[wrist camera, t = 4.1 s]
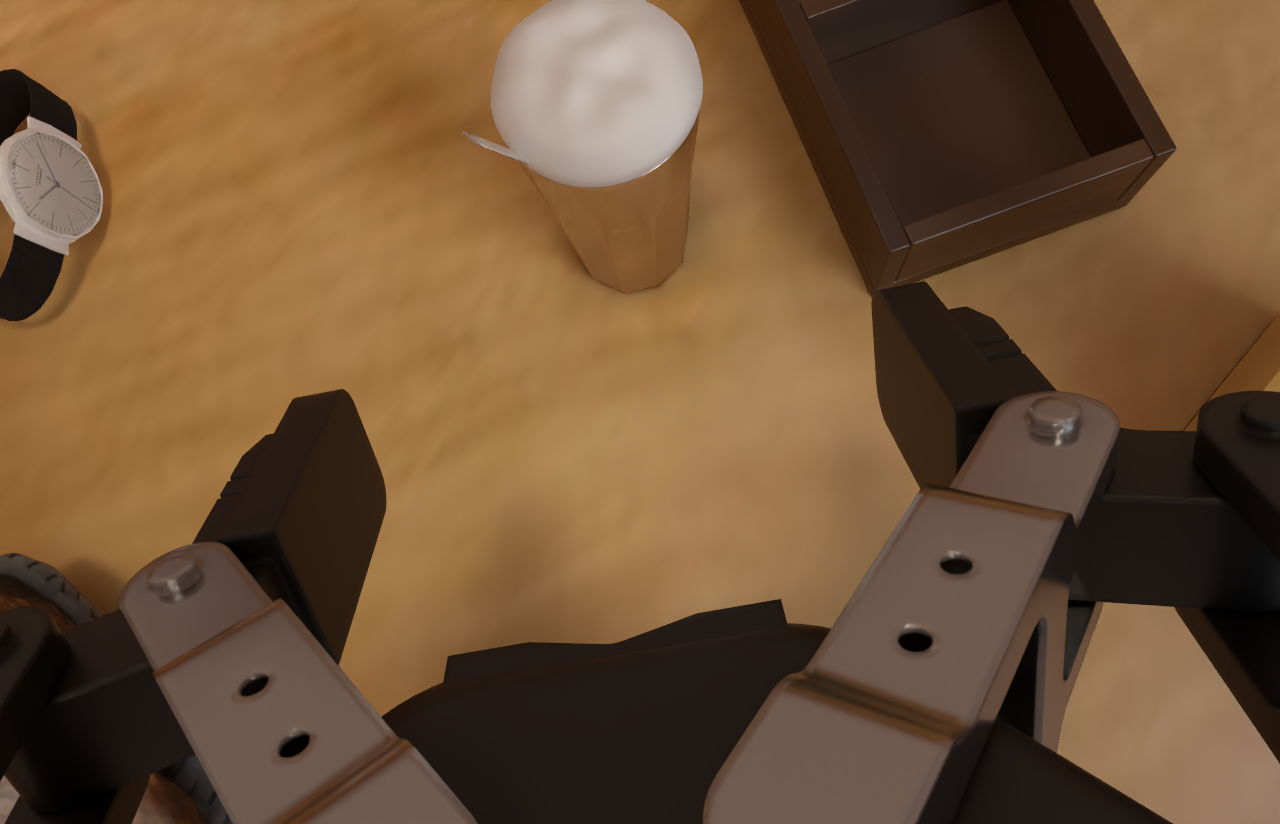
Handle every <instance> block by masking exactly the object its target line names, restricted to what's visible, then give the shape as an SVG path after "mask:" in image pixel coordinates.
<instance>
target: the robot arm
mask: <svg viewBox="0 0 1280 824" xmlns="http://www.w3.org/2000/svg"><path fill="white" fill-rule="evenodd" d="M872 321H873V337H874V354H875V370H876V384H877V393H878V398H879V403H880V407H881V411H882V414H883V418H884V420H885V423H886V425H887V427H888V429H889V430H890V432H891V434H892V436H893V438H894V440H895V442H896V444H897V446H898V448H899V449H900V451H901V453H902V455H903V457H904V459H905V461H906V463H907V465H908V466H909V468H910V470H911V472H912V474H913V476H914V478H915V480H916V482H917V484H918V485H919V487H920V489H921V490H920V491H919V492H918V494H917V495H916V497H915V498H914V500H913V502H912V503H911V505H910V506H909V508H908V509H907V511H906V512H905V514H904V516H903V517H902V519H901V520H900V522H899V523H898V525H897V527H896V528H895V530H894V531H893V533H892V534H891V536H890V538H889V539H888V541H887V542H886V544H885V545H884V547H883V549H882V550H881V552H880V553H879V555H878V556H877V558H876V559H875V561H874V563H873V564H872V566H871V567H870V569H869V570H868V572H867V574H866V575H865V577H864V578H863V580H862V581H861V583H860V585H859V586H858V588H857V589H856V591H855V592H854V594H853V595H852V597H851V599H850V600H849V602H848V603H847V605H846V606H845V608H844V610H843V611H842V613H841V614H840V616H839V617H838V619H837V621H836V622H835V624H834V625H833V627H832V628H831V629H830V628H826V627H821V626H814V625H806V624H791V623H787V621H786V617H785V613H784V610H783V606H782V602H781V599H778V600H772V601H767V602H761V603H755V604H749V605H743V606H737V607H732V608H726V609H720V610H714V611H708V612H702V613H697V614H695V615H692V616H689V617H686V618H684V619H681V620H678V621H676V622H673V623H670V624H667V625H665V626H662V627H659V628H657V629H654V630H651V631H649V632H646V633H643V634H640V635H638V636H635V637H632V638H630V639H627V640H624V641H621V642H618V643H613V644H575V643H536V642H527V643H522V644H516V645H510V646H504V647H498V648H492V649H487V650H481V651H475V652H469V653H463V654H457V655H452V656H448V659H447V664H446V670H445V676H444V682H443V683H441V684H438V685H436V686H433V687H431V688H429V689H427V690H425V691H423V692H421V693H419V694H416V695H415V696H413V697H411V698H409V699H408V700H406V701H404V702H403V703H401V704H399V705H398V706H396V707H395V708H393V709H392V710H390V711H389V712H388V713H386V714H385V715H383V716H382V717H380V715H379V714H378V713H377V712H376V711H375V709H374V708H373V707H372V706H371V705H370V703H369V702H368V701H367V700H366V699H365V697H364V696H363V695H362V694H361V693H360V691H359V690H358V689H357V688H356V687H355V685H354V684H353V683H352V682H351V681H350V679H349V678H348V677H347V676H346V675H345V673H344V672H343V671H342V670H341V669H340V667H339V666H338V665H339V662H340V659H341V656H342V653H343V649H344V646H345V643H346V640H347V636H348V633H349V630H350V626H351V623H352V620H353V617H354V613H355V610H356V607H357V604H358V600H359V597H360V594H361V590H362V587H363V584H364V581H365V577H366V574H367V571H368V567H369V564H370V561H371V558H372V554H373V551H374V548H375V545H376V541H377V538H378V535H379V531H380V528H381V525H382V522H383V518H384V515H385V511H386V489H385V483H384V479H383V475H382V472H381V470H380V467H379V465H378V462H377V459H376V457H375V454H374V452H373V449H372V447H371V444H370V442H369V439H368V437H367V434H366V431H365V429H364V426H363V424H362V421H361V419H360V416H359V414H358V411H357V409H356V406H355V404H354V401H353V399H352V398H351V396H350V395H349V393H348V392H347V391H345V390H343V389H340V390H335V391H329V392H324V393H319V394H313V395H308V396H303V397H297V398H294V399H293V400H292V401H291V403H290V405H289V407H288V409H287V410H286V412H285V414H284V416H283V418H282V420H281V422H280V423H279V425H278V427H277V429H276V431H275V433H274V434H269V435H266V436H264V437H263V438H262V439H261V440H260V441H259V442H258V443H257V444H255V445H254V446H253V447H252V448H251V449H250V450H249V451H248V452H246V453H245V454H244V455H243V456H242V458H241V459H240V461H239V463H238V465H237V466H236V468H235V470H234V472H233V473H232V475H231V477H230V478H231V481H228V482H227V484H226V486H225V487H224V489H223V491H222V493H221V494H220V495H221V499H218V500H217V501H216V503H215V505H214V507H213V508H212V510H211V512H210V514H209V515H208V517H207V519H206V520H205V522H204V524H203V526H202V527H201V529H200V531H199V533H198V534H197V536H196V538H195V540H194V541H193V543H192V544H190V545H187V546H184V547H180V548H178V549H175V550H173V551H170V552H168V553H166V554H164V555H162V556H160V557H158V558H157V559H155V560H153V561H152V562H150V563H149V564H147V565H146V566H144V567H143V568H142V569H141V570H139V571H138V572H137V573H136V574H135V575H134V576H133V577H132V578H131V579H130V580H129V581H128V582H127V584H126V585H125V586H124V588H123V590H122V592H121V594H120V597H119V606H120V609H119V610H117V611H115V612H112V613H109V614H107V615H104V616H101V617H99V618H96V619H93V620H91V621H88V622H86V623H83V624H80V625H78V626H75V627H72V628H70V629H67V630H64V631H62V632H61V630H60V629H59V628H58V626H57V625H56V623H55V622H54V620H53V619H52V617H51V616H50V614H49V613H48V612H47V611H46V610H45V609H43V608H40V607H36V606H23V607H17V608H13V609H9V610H5V611H2V612H0V781H1V780H2V778H3V776H5V777H6V779H7V780H8V781H9V782H10V784H11V785H12V786H13V787H14V789H15V790H16V791H17V792H18V794H19V795H20V796H19V798H18V799H17V801H16V803H15V805H14V807H13V809H12V810H11V812H10V814H9V816H8V818H7V820H6V822H5V823H4V824H132V822H133V820H134V818H135V815H136V813H137V810H138V808H139V805H140V803H141V800H142V798H143V795H144V793H145V791H146V788H147V786H148V783H149V780H150V776H151V774H152V773H154V772H157V771H159V770H161V769H164V768H166V767H169V766H171V765H173V764H176V763H178V762H180V761H183V760H185V759H187V758H190V757H192V756H195V755H196V756H197V758H198V760H199V761H200V763H201V765H202V767H203V769H204V771H205V773H206V775H207V776H208V778H209V780H210V782H211V784H212V786H213V788H214V789H215V791H216V793H217V795H218V797H219V799H220V801H221V802H222V804H223V806H224V808H225V810H226V812H227V814H228V815H229V817H230V819H231V821H232V823H233V824H1173V823H1171V822H1169V821H1168V820H1166V819H1164V818H1163V817H1161V816H1159V815H1158V814H1156V813H1154V812H1153V811H1151V810H1150V809H1148V808H1146V807H1145V806H1143V805H1141V804H1140V803H1138V802H1136V801H1135V800H1133V799H1131V798H1130V797H1128V796H1126V795H1125V794H1123V793H1121V792H1120V791H1118V790H1117V789H1115V788H1113V787H1112V786H1110V785H1108V784H1107V783H1105V782H1103V781H1102V780H1100V779H1098V778H1097V777H1095V776H1093V775H1092V774H1090V773H1089V772H1087V771H1085V770H1084V769H1082V768H1080V767H1079V766H1077V765H1075V764H1074V763H1072V762H1070V761H1069V760H1067V759H1065V758H1064V757H1062V756H1061V755H1059V754H1057V753H1056V752H1057V747H1058V742H1059V736H1060V731H1061V726H1062V721H1063V717H1064V714H1065V710H1066V707H1067V704H1068V701H1069V699H1070V696H1071V693H1072V690H1073V688H1074V685H1075V682H1076V679H1077V677H1078V674H1079V671H1080V668H1081V665H1082V663H1083V660H1084V657H1085V654H1086V652H1087V649H1088V646H1089V643H1090V641H1091V638H1092V635H1093V632H1094V630H1095V627H1096V624H1097V621H1098V619H1099V616H1100V613H1101V610H1102V607H1103V602H1111V603H1126V604H1141V605H1157V606H1172V607H1175V609H1176V611H1177V613H1178V614H1179V616H1180V617H1181V619H1182V620H1183V622H1184V623H1185V625H1186V626H1187V628H1188V629H1189V631H1190V632H1191V633H1192V635H1193V636H1194V638H1195V639H1196V641H1197V642H1198V644H1199V645H1200V647H1201V648H1202V650H1203V651H1204V653H1205V654H1206V656H1207V657H1208V658H1209V660H1210V661H1211V663H1212V664H1213V666H1214V667H1215V669H1216V670H1217V672H1218V673H1219V675H1220V676H1221V678H1222V679H1223V681H1224V682H1225V683H1226V685H1227V686H1228V688H1229V689H1230V691H1231V692H1232V694H1233V695H1234V697H1235V698H1236V700H1237V701H1238V703H1239V704H1240V706H1241V707H1242V708H1243V710H1244V711H1245V713H1246V714H1247V716H1248V717H1249V719H1250V720H1251V722H1252V723H1253V725H1254V726H1255V728H1256V729H1257V731H1258V732H1259V733H1260V735H1261V736H1262V738H1263V739H1264V741H1265V742H1266V744H1267V745H1268V747H1269V748H1270V750H1271V751H1272V753H1273V754H1274V756H1275V757H1276V758H1277V760H1278V761H1279V763H1280V392H1274V391H1241V392H1234V393H1229V394H1225V395H1222V396H1218V397H1216V398H1214V399H1212V400H1210V401H1209V402H1207V403H1206V404H1204V406H1203V407H1202V408H1201V409H1200V412H1199V414H1198V421H1197V428H1196V431H1147V430H1132V429H1124V428H1119V427H1120V425H1119V419H1118V417H1117V415H1116V414H1115V413H1114V412H1113V410H1112V409H1111V408H1109V407H1108V406H1107V405H1105V404H1103V403H1102V402H1100V401H1098V400H1096V399H1093V398H1091V397H1088V396H1084V395H1081V394H1076V393H1070V392H1061V391H1057V390H1056V389H1055V388H1054V387H1053V386H1052V385H1051V383H1050V382H1049V381H1048V380H1047V379H1046V378H1045V377H1044V375H1043V374H1042V373H1041V372H1040V371H1039V370H1038V369H1037V367H1036V366H1035V365H1034V364H1033V363H1032V362H1031V361H1030V360H1029V358H1028V357H1027V356H1026V355H1025V354H1022V353H1021V349H1020V348H1019V347H1018V346H1017V345H1016V344H1015V342H1014V341H1013V340H1012V339H1011V340H1009V336H1008V334H1007V333H1006V332H1005V331H1004V330H1003V329H1002V328H1001V326H1000V325H999V324H998V323H997V322H996V321H995V320H994V319H993V318H991V317H989V316H986V315H984V314H982V313H980V312H978V311H975V310H973V309H971V308H969V307H960V308H955V309H950V310H948V309H947V308H946V307H945V305H944V304H943V303H942V302H941V300H940V299H939V298H938V297H937V295H936V294H935V293H934V292H933V290H932V289H931V288H930V286H929V285H928V284H927V283H926V282H918V283H913V284H907V285H902V286H897V287H891V288H886V289H881V290H875V291H874V292H873V295H872Z"/></svg>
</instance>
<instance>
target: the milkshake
mask: <svg viewBox="0 0 1280 824" xmlns="http://www.w3.org/2000/svg"><path fill="white" fill-rule="evenodd" d="M702 96H703V80H702V73H701V68H700V64H699V60H698V57H697V53H696V50H695V48H694V45H693V43H692V41H691V39H690V37H689V35H688V34H687V32H686V31H685V30H684V29H683V28H682V27H681V26H680V25H679V24H678V23H677V22H676V21H675V20H674V19H673V18H671V17H670V16H669V15H668V14H666V13H665V12H664V11H662V10H661V9H659V8H658V7H656V6H655V5H653V4H651V3H649V2H648V1H646V0H551V1H549V2H547V3H546V4H544V5H543V6H541V7H540V8H538V9H537V10H536V11H534V12H533V13H532V14H530V15H529V16H528V17H526V18H525V19H523V20H522V21H521V22H519V23H518V24H517V25H516V26H515V27H514V28H513V29H512V30H511V31H510V33H509V34H508V35H507V37H506V38H505V40H504V42H503V44H502V46H501V48H500V50H499V53H498V56H497V60H496V64H495V68H494V74H493V79H492V85H491V93H490V103H491V111H492V116H493V119H494V122H495V125H496V127H497V130H498V132H499V134H500V136H501V137H502V139H503V141H504V142H505V144H506V145H507V146H508V148H506V147H504V146H501V145H499V144H496V143H494V142H491V141H489V140H486V139H484V138H481V137H479V136H476V135H474V134H471V133H469V132H466V131H462V133H463V134H464V135H465V136H466V137H467V138H469V139H470V140H471V141H472V142H473V143H474V144H476V145H478V146H480V147H483V148H486V149H488V150H491V151H493V152H496V153H499V154H501V155H504V156H506V157H509V158H512V159H514V160H517V161H518V163H519V164H520V166H521V167H522V168H523V170H524V171H525V173H526V174H527V176H528V177H529V179H530V180H531V182H532V183H533V185H534V186H535V187H536V189H537V190H538V192H539V193H540V195H541V196H542V197H543V199H544V200H545V201H546V203H547V204H548V206H549V207H550V208H551V210H552V211H553V213H554V214H555V216H556V217H557V219H558V221H559V222H560V224H561V226H562V227H563V229H564V231H565V232H566V234H567V236H568V237H569V239H570V241H571V242H572V244H573V246H574V247H575V249H576V251H577V253H578V254H579V256H580V258H581V259H582V261H583V263H584V265H585V266H586V268H587V270H588V271H589V273H590V275H591V276H592V278H593V279H594V280H596V281H598V282H600V283H603V284H605V285H607V286H610V287H612V288H614V289H617V290H619V291H621V292H623V293H628V292H632V291H637V290H643V289H648V288H653V287H658V286H660V285H661V284H662V283H663V282H664V281H665V280H666V279H667V278H668V277H669V276H670V275H671V274H672V273H673V272H674V271H675V270H676V269H677V268H678V267H679V266H680V265H681V264H682V263H683V259H684V252H685V244H686V238H687V231H688V220H689V204H690V187H691V171H692V163H693V158H694V152H695V145H696V138H697V130H698V122H699V114H700V106H701V102H702Z"/></svg>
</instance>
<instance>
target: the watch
mask: <svg viewBox="0 0 1280 824" xmlns="http://www.w3.org/2000/svg"><path fill="white" fill-rule="evenodd" d="M29 114H30V117H27V116H28V115H29ZM26 117H27V126H28V129H25V130H23V131H20V132H18V133H16V134H14V135H13V133H14V132H15V130H16V129H17V127H18V126H19V125H20V123H21V122H22V121H23V120H24V119H25V118H26ZM81 146H82V145H81V144H80V143H79V142H77V124H76V120H75V117H74V114H73V111H72V109H71V107H70V106H69V105H68V103H67V102H65V101H63V100H62V99H60V98H59V97H58V96H56V95H55V94H53V93H52V92H51V91H49V90H48V89H46V88H45V87H44V86H42V85H41V84H39V83H37V82H36V81H34V80H33V79H31V78H29V77H28V76H26V75H25V74H24V73H22V72H21V71H19V70H16V69H10V70H3V71H0V200H1V202H2V204H3V205H4V207H5V209H6V210H7V212H8V214H9V216H10V217H11V219H12V220H13V221H14V222H15V223H16V224H15V227H14V231H13V234H14V240H13V246H12V250H11V253H10V256H9V259H8V261H7V264H6V267H5V270H4V272H3V273H2V275H1V277H0V318H2V319H6V320H8V321H20V320H24V319H26V318H28V317H29V316H31V315H32V314H34V313H35V312H36V311H38V310H39V309H40V308H41V307H42V305H43V304H44V303H45V301H46V300H47V298H48V297H49V296H50V294H51V292H52V290H53V288H54V285H55V283H56V280H57V278H58V276H59V273H60V271H61V267H62V262H63V258H64V255H69V245H68V244H70V243H73V242H74V241H76V240H77V239H78V238H80V237H82V236H84V235H85V234H87V233H89V232H90V231H91V230H92V229H93V228H94V226H95V225H96V224H97V223H98V221H99V220H100V216H101V213H102V208H103V191H102V188H101V185H100V182H99V179H98V176H97V173H96V172H95V170H94V168H93V166H92V164H91V163H90V161H89V159H88V157H87V155H86V154H84V153H83V152H82V151H81V150H80V149H81Z"/></svg>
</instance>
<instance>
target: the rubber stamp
mask: <svg viewBox="0 0 1280 824" xmlns="http://www.w3.org/2000/svg"><path fill="white" fill-rule="evenodd" d="M1241 391H1274V392H1280V316H1279V317H1278V318H1276V319H1274V320H1273V322H1272V323H1271V324H1270V325H1269V327H1268V328H1267V329H1266V330H1265V331H1264V333H1263V334H1262V335H1261V336H1260V338H1259V339H1258V340H1257V341H1256V343H1255V344H1254V345H1253V346H1252V347H1251V349H1250V350H1249V351H1248V352H1247V354H1246V355H1245V356H1244V357H1243V359H1242V360H1241V361H1240V362H1239V363H1238V365H1237V366H1236V367H1235V368H1234V370H1233V371H1232V372H1231V373H1230V375H1229V376H1228V377H1227V378H1226V379H1225V381H1224V382H1223V383H1222V384H1221V386H1220V387H1219V388H1218V389H1217V391H1216V392H1215V393H1214V394H1213V395H1212V397H1211V398H1210V399H1209V400H1208V402H1209V401H1210V400H1212V399H1214V398H1216V397H1218V396H1222V395H1225V394H1229V393H1234V392H1241ZM1199 412H1200V411H1199ZM1198 414H1199V413H1198ZM1198 414H1197V415H1196V416H1195V418H1194V419H1193V420H1192V421H1191V423H1190V424H1189V425H1188V426H1187V427H1186V429H1185V430H1184V431H1196V428H1197V421H1198Z"/></svg>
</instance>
